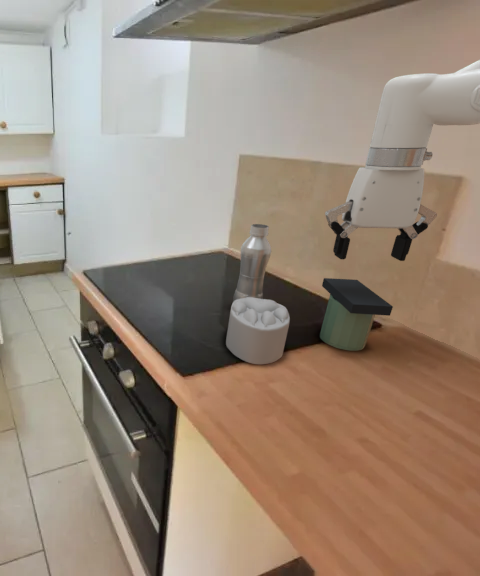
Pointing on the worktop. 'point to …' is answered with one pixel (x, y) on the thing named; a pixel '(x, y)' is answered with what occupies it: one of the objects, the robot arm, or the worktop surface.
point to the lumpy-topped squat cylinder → (257, 330)
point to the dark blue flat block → (356, 297)
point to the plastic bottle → (253, 263)
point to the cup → (345, 327)
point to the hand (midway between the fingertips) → (368, 257)
